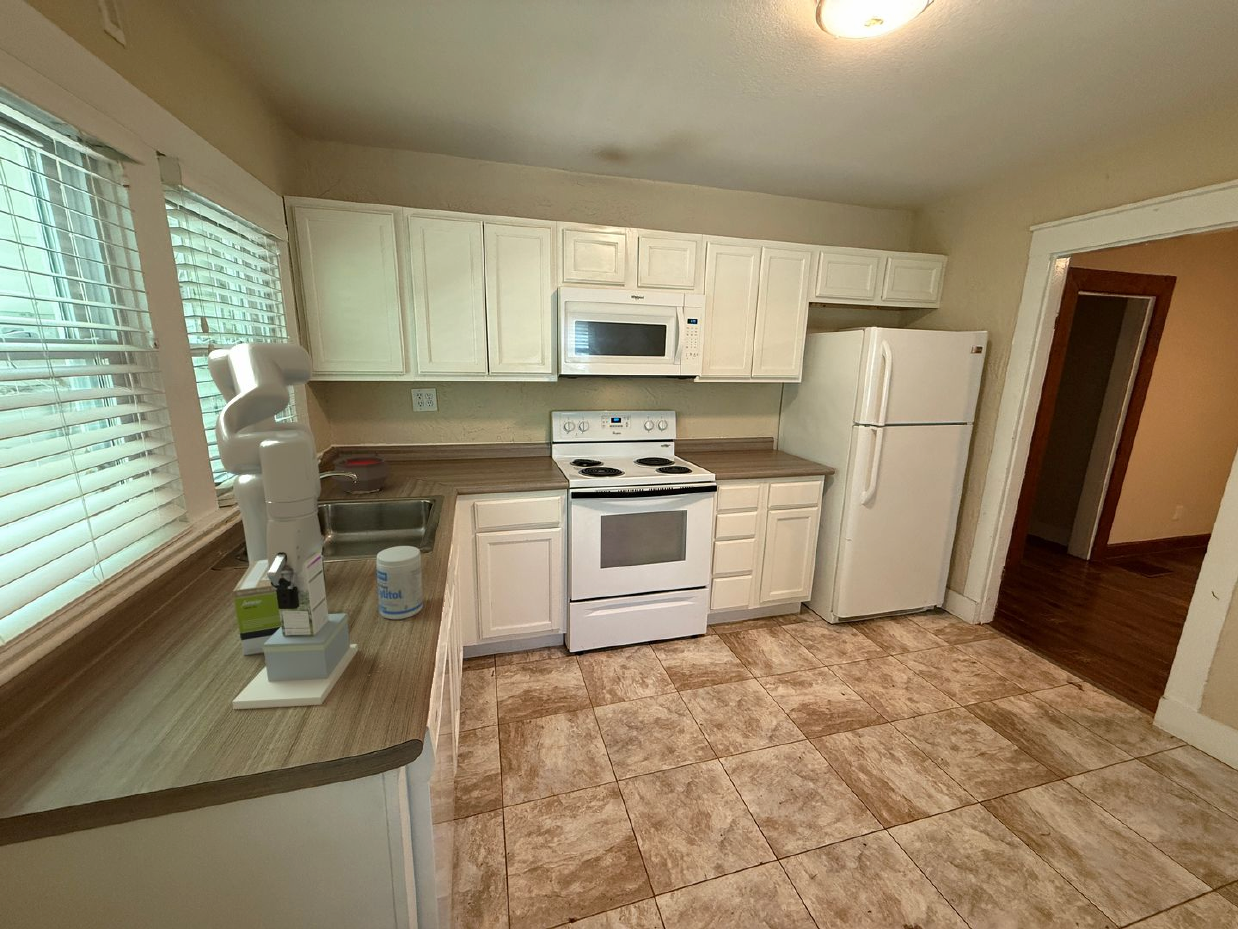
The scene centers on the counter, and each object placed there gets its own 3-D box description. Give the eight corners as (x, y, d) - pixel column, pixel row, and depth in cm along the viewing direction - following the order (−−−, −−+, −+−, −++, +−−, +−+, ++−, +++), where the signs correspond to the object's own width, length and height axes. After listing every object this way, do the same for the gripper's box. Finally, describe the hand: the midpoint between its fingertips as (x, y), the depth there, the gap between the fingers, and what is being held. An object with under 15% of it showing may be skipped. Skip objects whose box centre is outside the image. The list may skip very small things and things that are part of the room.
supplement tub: (372, 621, 111) (367, 561, 108) (390, 600, 121) (385, 544, 117) (415, 621, 112) (411, 561, 109) (429, 601, 121) (426, 545, 118)
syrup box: (330, 620, 95) (322, 550, 91) (314, 637, 89) (305, 563, 86) (299, 620, 94) (290, 550, 91) (281, 638, 88) (271, 563, 85)
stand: (284, 653, 98) (279, 613, 97) (357, 650, 100) (354, 610, 98) (233, 709, 83) (225, 662, 81) (321, 704, 85) (315, 658, 83)
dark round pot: (356, 481, 227) (353, 447, 224) (404, 485, 224) (402, 450, 221) (319, 495, 204) (314, 457, 201) (371, 499, 201) (368, 460, 197)
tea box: (261, 620, 110) (252, 559, 107) (312, 612, 114) (306, 553, 111) (241, 657, 97) (230, 589, 94) (300, 647, 101) (292, 581, 98)
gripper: (295, 493, 94) (305, 575, 98) (238, 523, 78) (253, 620, 81) (336, 493, 95) (344, 574, 99) (289, 522, 79) (301, 618, 82)
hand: (303, 594), depth 90 cm, fingers open, 9 cm apart
